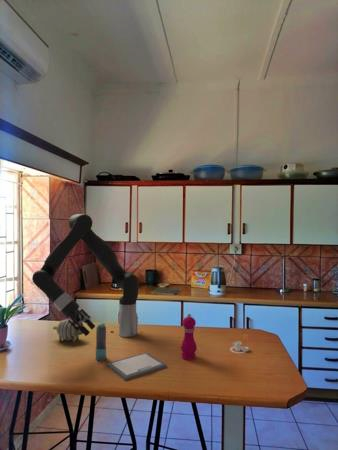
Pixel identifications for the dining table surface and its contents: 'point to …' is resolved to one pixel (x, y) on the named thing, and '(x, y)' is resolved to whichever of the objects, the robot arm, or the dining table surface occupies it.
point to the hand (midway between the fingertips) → (91, 331)
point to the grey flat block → (136, 366)
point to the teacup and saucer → (239, 347)
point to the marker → (101, 342)
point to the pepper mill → (188, 339)
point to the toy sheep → (67, 331)
